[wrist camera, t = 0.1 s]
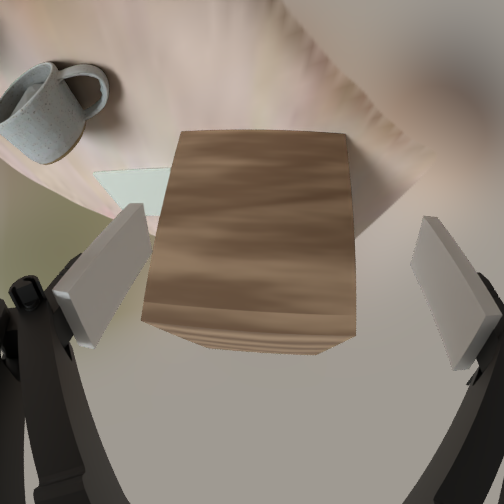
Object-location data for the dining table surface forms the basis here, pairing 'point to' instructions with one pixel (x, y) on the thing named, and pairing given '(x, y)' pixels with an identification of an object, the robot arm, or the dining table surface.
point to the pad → (136, 187)
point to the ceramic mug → (47, 111)
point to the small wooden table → (256, 243)
